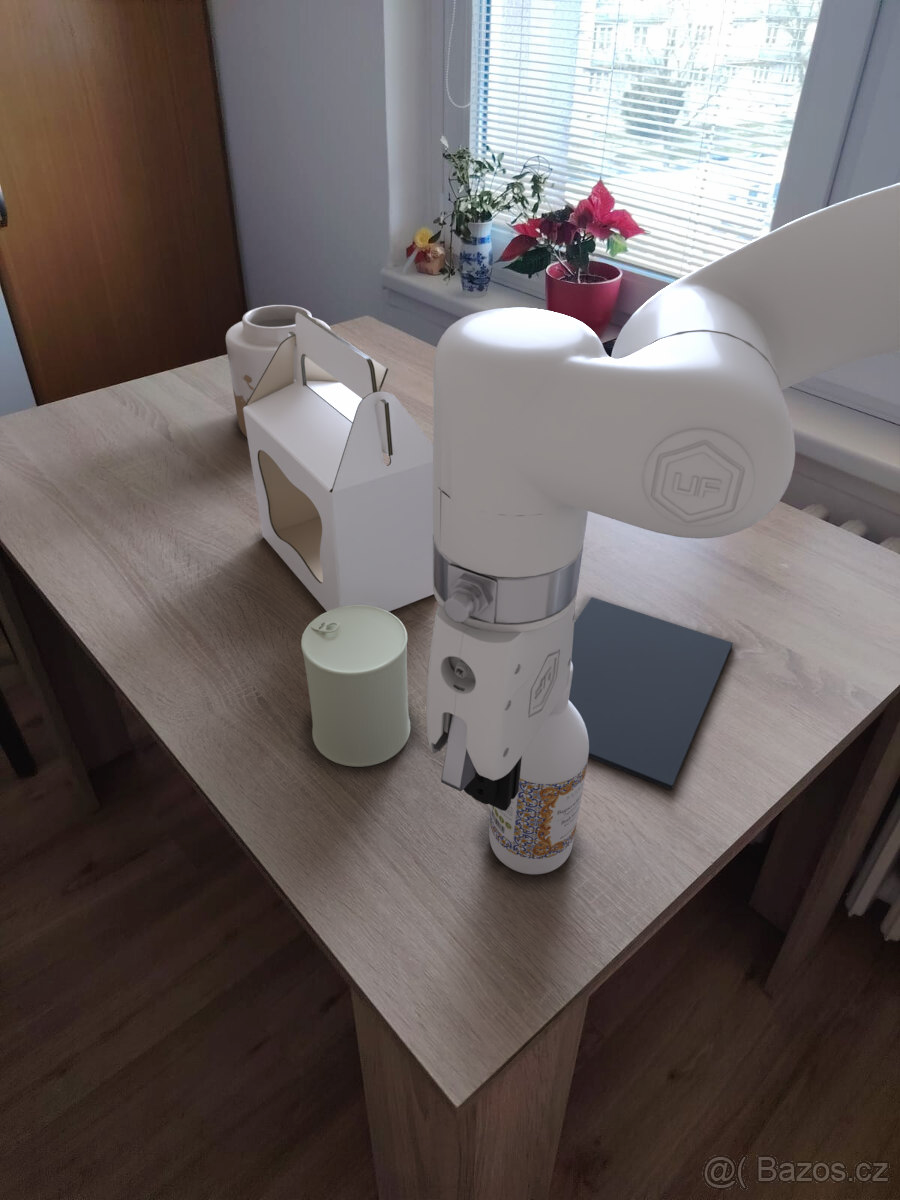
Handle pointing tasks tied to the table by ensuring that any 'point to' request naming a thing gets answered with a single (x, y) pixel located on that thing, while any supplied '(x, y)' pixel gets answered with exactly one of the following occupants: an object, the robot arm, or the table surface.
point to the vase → (257, 348)
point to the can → (357, 684)
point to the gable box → (341, 473)
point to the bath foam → (545, 795)
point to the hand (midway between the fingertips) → (490, 793)
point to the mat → (641, 687)
